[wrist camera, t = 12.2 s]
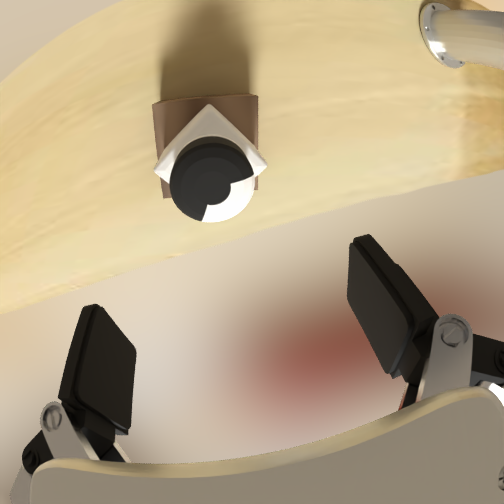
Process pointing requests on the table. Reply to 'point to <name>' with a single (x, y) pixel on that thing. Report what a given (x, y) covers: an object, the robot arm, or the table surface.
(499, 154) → the table surface
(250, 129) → the walnut box
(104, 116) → the table surface
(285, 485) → the robot arm
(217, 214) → the medicine bottle
